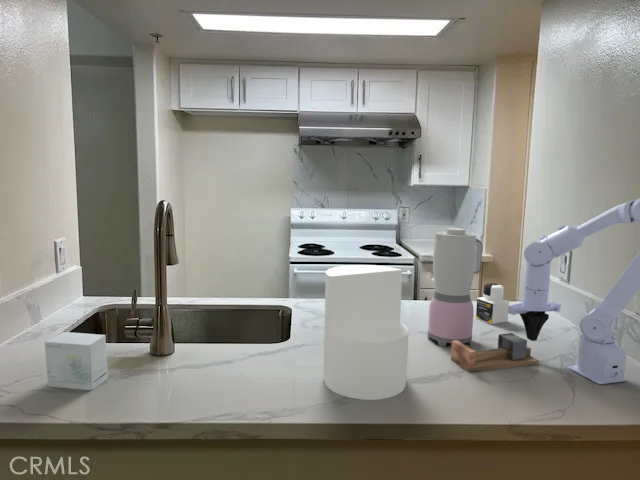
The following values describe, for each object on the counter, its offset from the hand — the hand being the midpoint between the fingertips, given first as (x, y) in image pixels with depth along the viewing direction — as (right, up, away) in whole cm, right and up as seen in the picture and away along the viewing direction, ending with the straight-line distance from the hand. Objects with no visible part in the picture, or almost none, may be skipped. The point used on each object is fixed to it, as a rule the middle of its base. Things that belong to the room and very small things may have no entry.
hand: (531, 339), depth 121 cm
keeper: (-6, -4, -1) cm, 7 cm away
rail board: (-11, -5, -2) cm, 12 cm away
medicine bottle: (+1, -1, +32) cm, 32 cm away
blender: (-16, -3, +14) cm, 21 cm away
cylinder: (-45, -7, -14) cm, 47 cm away
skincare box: (-108, -6, -18) cm, 110 cm away
